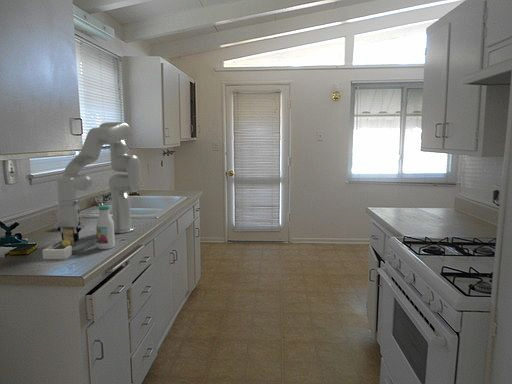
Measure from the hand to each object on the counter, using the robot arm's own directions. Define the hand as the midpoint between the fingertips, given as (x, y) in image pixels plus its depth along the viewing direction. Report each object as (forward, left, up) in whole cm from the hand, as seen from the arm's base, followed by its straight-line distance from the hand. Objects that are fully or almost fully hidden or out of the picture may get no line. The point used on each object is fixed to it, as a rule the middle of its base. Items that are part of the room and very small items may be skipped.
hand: (70, 240), depth 183 cm
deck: (+1, 0, -4) cm, 4 cm away
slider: (0, 0, -1) cm, 1 cm away
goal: (+12, 0, -4) cm, 13 cm away
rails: (+5, 0, -2) cm, 6 cm away
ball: (+4, 0, 0) cm, 4 cm away
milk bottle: (-2, +16, -4) cm, 17 cm away
